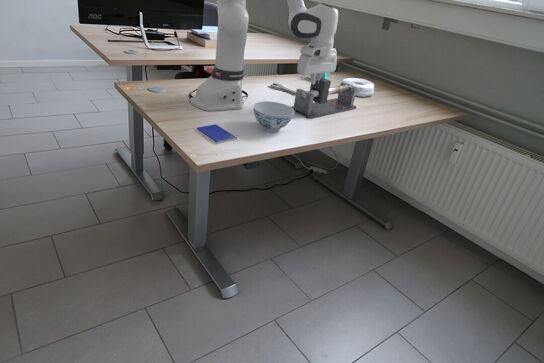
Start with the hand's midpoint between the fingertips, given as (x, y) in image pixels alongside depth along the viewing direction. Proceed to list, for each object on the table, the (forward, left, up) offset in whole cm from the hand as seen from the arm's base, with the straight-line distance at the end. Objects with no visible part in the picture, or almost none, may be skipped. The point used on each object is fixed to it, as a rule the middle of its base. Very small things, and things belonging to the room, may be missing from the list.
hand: (314, 84), depth 155 cm
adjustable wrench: (+12, +23, -13) cm, 29 cm away
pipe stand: (+10, 0, -12) cm, 16 cm away
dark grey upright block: (+4, 0, -8) cm, 9 cm away
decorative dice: (+45, +33, -13) cm, 57 cm away
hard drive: (-50, -2, -13) cm, 51 cm away
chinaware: (-28, -6, -13) cm, 31 cm away
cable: (+50, +11, -13) cm, 52 cm away
